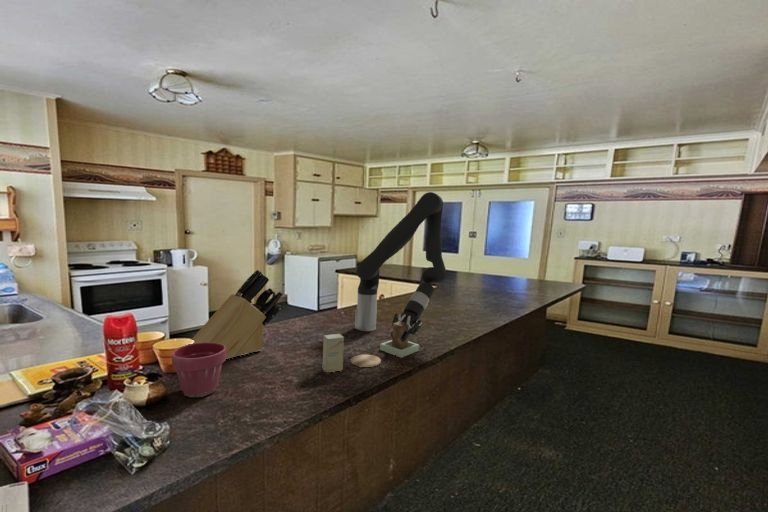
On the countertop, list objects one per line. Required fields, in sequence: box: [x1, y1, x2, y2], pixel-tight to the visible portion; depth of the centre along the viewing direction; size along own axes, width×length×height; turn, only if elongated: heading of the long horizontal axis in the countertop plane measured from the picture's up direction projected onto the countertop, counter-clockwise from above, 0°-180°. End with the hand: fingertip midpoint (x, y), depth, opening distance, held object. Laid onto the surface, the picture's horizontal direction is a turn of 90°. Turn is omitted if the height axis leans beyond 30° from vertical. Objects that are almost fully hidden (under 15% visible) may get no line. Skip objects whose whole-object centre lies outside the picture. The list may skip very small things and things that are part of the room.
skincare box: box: [321, 333, 345, 373], centre depth 127 cm, size 6×4×12 cm
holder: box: [379, 339, 420, 359], centre depth 149 cm, size 11×11×2 cm
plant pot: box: [171, 342, 227, 394], centre depth 109 cm, size 14×14×13 cm
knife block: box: [191, 268, 284, 358], centre depth 138 cm, size 11×35×31 cm, turn 137°
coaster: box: [350, 354, 382, 368], centre depth 136 cm, size 11×11×1 cm
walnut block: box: [391, 322, 409, 350], centre depth 148 cm, size 4×4×11 cm
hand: (397, 338), depth 147 cm, fingers closed on walnut block, 4 cm apart
